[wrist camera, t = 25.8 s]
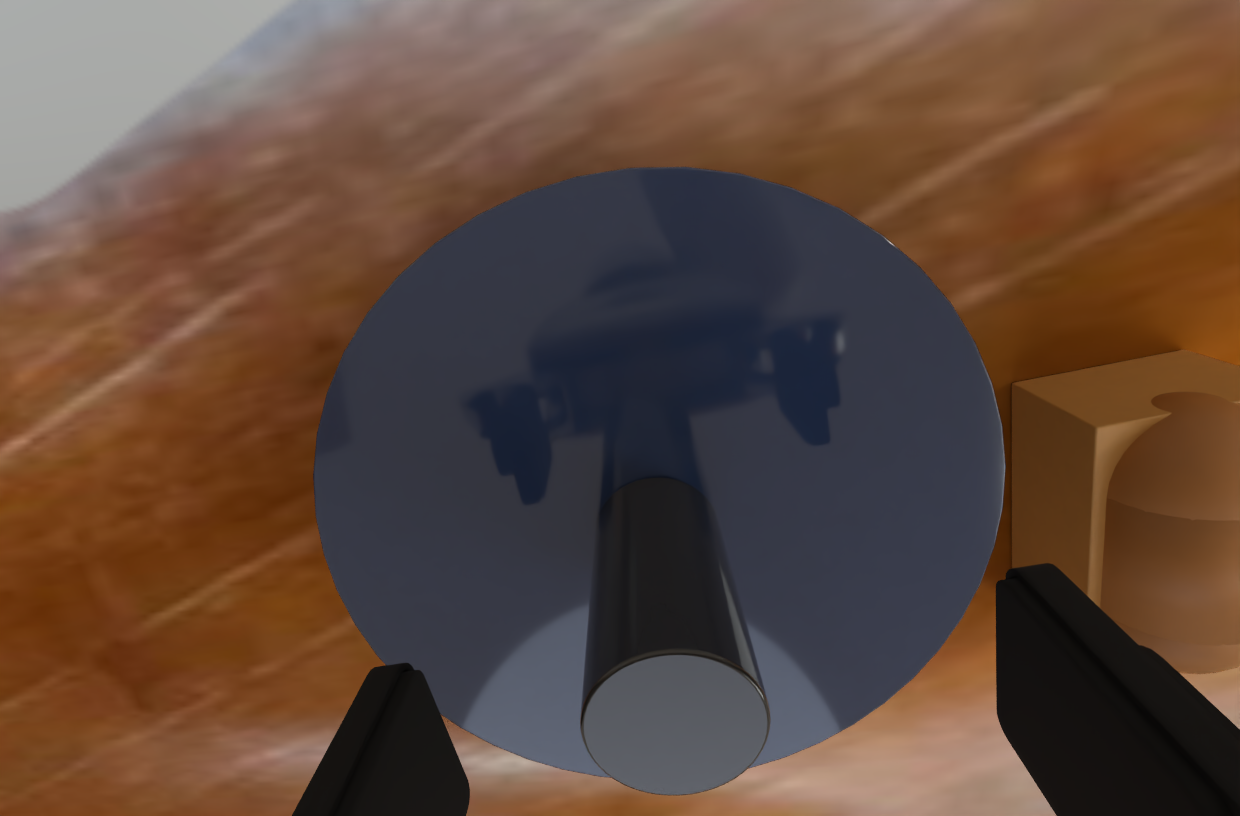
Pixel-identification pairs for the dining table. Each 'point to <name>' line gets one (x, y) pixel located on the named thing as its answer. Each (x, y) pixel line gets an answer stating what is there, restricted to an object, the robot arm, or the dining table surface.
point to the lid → (660, 474)
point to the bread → (1138, 497)
